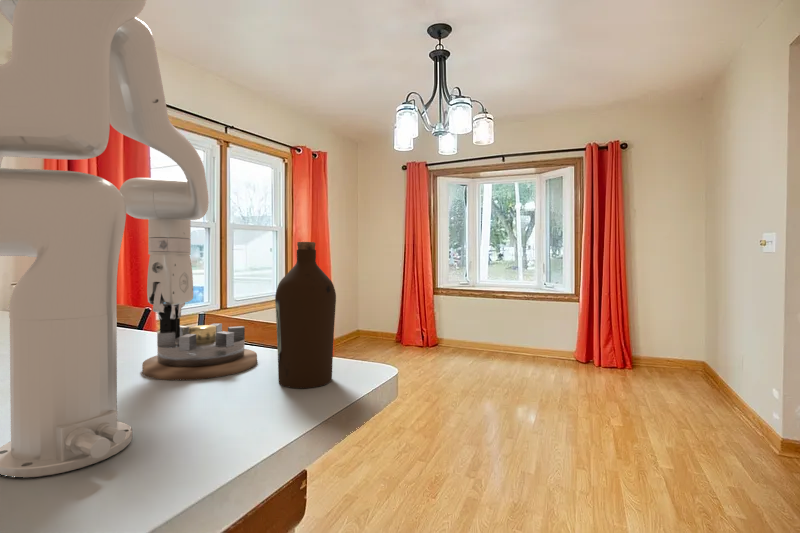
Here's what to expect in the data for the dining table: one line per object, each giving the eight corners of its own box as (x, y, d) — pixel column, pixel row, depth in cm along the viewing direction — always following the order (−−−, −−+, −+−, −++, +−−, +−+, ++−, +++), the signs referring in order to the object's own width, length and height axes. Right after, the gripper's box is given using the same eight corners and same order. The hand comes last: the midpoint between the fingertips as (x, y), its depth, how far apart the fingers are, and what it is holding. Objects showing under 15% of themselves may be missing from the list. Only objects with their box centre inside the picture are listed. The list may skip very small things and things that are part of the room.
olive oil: (338, 373, 83) (339, 243, 82) (331, 390, 72) (332, 241, 72) (282, 372, 83) (283, 242, 82) (267, 390, 72) (268, 240, 71)
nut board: (278, 360, 92) (278, 353, 92) (190, 386, 73) (190, 377, 73) (211, 349, 102) (211, 343, 102) (118, 370, 83) (118, 362, 83)
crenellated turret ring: (261, 353, 91) (261, 325, 91) (193, 370, 77) (193, 337, 76) (209, 345, 98) (209, 319, 98) (139, 359, 84) (139, 329, 84)
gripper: (170, 247, 79) (170, 346, 80) (204, 248, 94) (204, 331, 95) (128, 246, 79) (129, 346, 79) (169, 248, 94) (169, 331, 94)
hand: (170, 338), depth 87 cm, fingers closed
